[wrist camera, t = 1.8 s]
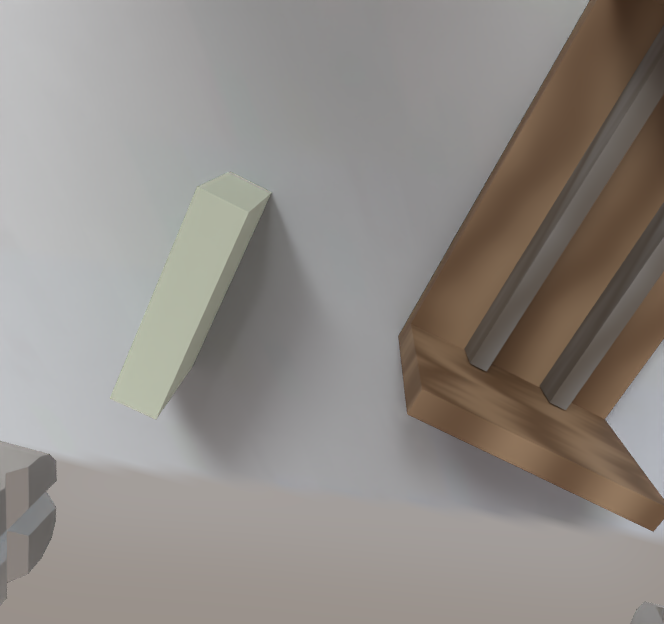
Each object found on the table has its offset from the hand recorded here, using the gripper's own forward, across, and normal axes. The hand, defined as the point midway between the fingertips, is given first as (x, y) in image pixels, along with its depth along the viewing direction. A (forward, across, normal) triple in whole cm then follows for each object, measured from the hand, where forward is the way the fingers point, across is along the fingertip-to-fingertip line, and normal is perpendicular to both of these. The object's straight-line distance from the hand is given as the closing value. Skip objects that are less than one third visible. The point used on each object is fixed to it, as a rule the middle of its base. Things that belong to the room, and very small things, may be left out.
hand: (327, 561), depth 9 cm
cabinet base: (+35, -12, -1) cm, 37 cm away
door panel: (+32, +13, +7) cm, 36 cm away
